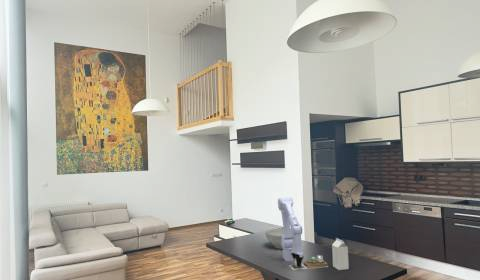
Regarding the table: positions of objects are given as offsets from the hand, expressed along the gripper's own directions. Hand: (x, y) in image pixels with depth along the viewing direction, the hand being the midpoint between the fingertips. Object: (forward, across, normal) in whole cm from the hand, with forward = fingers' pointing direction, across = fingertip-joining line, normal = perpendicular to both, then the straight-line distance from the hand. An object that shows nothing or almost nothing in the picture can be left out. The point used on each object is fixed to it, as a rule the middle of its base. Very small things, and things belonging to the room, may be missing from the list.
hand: (297, 265), depth 202 cm
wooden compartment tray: (+2, +1, +12) cm, 12 cm away
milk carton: (+2, +8, +26) cm, 27 cm away
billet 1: (+2, 0, 0) cm, 2 cm away
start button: (+1, -6, +14) cm, 15 cm away
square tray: (+2, 0, 0) cm, 2 cm away
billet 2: (+1, +1, +15) cm, 15 cm away
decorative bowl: (+2, -52, +7) cm, 53 cm away
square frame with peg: (+2, -6, +14) cm, 16 cm away
